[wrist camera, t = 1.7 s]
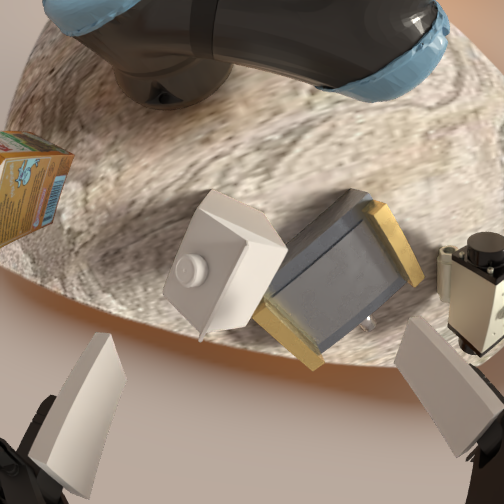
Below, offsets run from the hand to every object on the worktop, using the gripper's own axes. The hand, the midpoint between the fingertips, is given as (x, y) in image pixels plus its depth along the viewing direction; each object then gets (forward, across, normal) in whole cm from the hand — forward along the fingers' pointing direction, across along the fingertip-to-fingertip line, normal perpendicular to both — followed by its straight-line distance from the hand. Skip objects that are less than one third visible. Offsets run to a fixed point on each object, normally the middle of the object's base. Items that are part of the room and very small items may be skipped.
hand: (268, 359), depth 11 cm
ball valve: (+25, +35, -8) cm, 44 cm away
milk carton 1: (+25, -30, +9) cm, 40 cm away
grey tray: (+24, +13, -9) cm, 29 cm away
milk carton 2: (+25, -2, 0) cm, 25 cm away
